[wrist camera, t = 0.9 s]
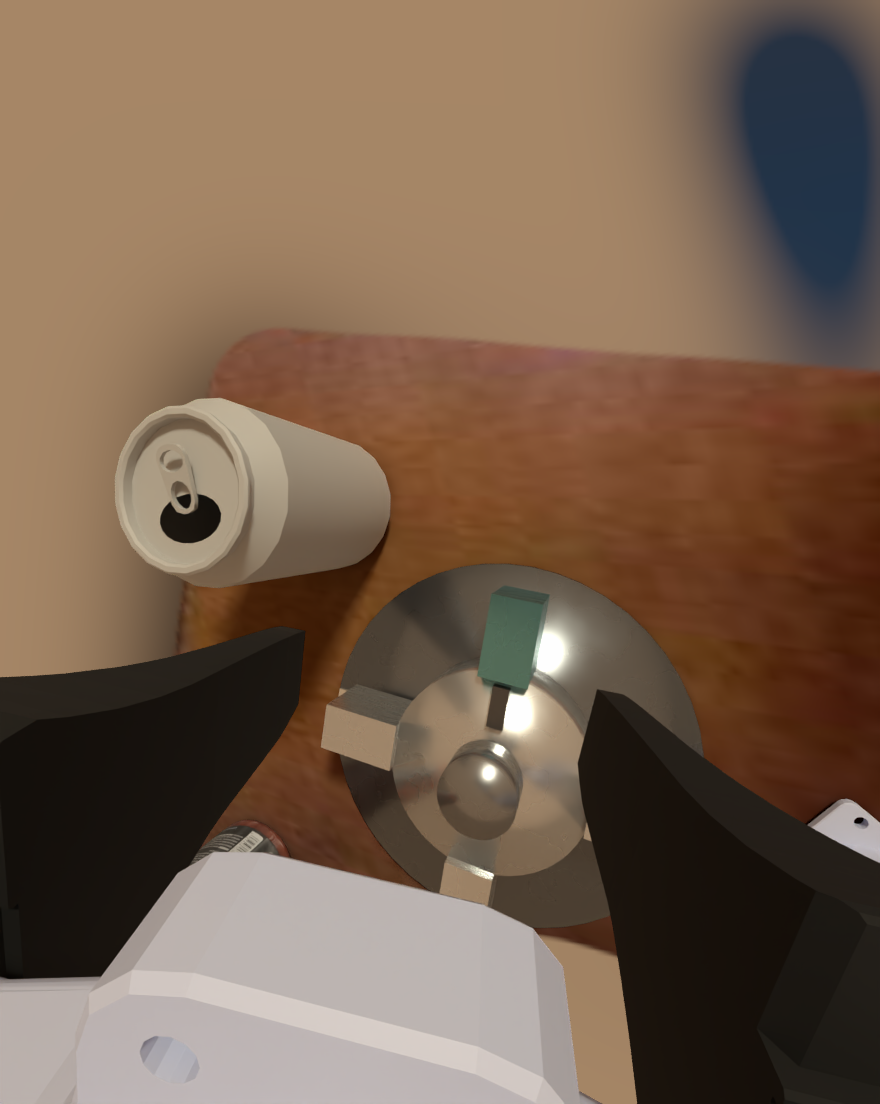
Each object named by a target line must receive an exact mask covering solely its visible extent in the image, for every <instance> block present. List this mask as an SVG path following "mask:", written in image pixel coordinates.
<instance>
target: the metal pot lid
mask: <svg viewBox="0 0 880 1104" xmlns="http://www.w3.org/2000/svg"><path fill="white" fill-rule="evenodd" d="M549 598H550V595H549V594H544V593H540V592H535V591H530V590H525V589H520V588H515V587H511V586H506V585H504V586H503V587H501V588H500V589H498V590H496V591H495V592H493V593H492V594H491V599H490V605H489V611H488V616H487V622H486V628H485V634H484V639H483V645H482V651H481V657H479V658H474V659H470V660H466V661H463V662H461V663H458V664H456V665H454V666H452V667H450V668H448V669H447V670H445V671H444V672H443V673H441V674H440V675H439V676H438V677H437V678H435V679H434V680H433V681H432V682H431V683H430V684H429V685H428V686H427V687H426V688H425V689H424V690H423V691H422V692H421V693H420V694H419V695H418V696H417V697H416V698H415V699H414V700H413V701H412V700H409V699H405V698H402V697H398V696H395V695H392V694H388V693H385V692H382V691H378V690H375V689H371V688H368V687H365V686H361V685H358V684H357V685H356V686H354V687H352V688H351V689H349V690H348V691H346V692H345V693H343V694H342V695H340V696H339V697H337V698H336V699H334V700H333V701H331V702H330V703H328V704H327V707H326V714H325V721H324V728H323V736H322V743H321V748H324V749H327V750H330V751H333V752H336V753H339V754H341V755H344V756H347V757H350V758H353V759H356V760H359V761H362V762H364V763H367V764H370V765H373V766H376V767H379V768H382V769H385V770H388V771H390V770H391V768H392V769H393V775H394V781H395V785H396V789H397V792H398V795H399V797H400V800H401V802H402V805H403V807H404V809H405V811H406V812H407V814H408V816H409V818H410V819H411V821H412V822H413V824H414V825H415V827H416V828H417V829H418V830H419V831H420V833H421V834H422V835H423V836H424V837H425V838H426V839H427V840H428V841H429V842H430V843H431V844H432V845H433V846H434V847H435V848H436V849H438V850H439V851H440V852H442V853H443V854H444V855H445V856H447V859H446V861H445V864H444V870H443V876H442V881H441V887H440V894H444V895H448V896H452V897H457V898H461V899H465V900H469V901H473V902H478V903H482V904H484V905H486V906H488V907H490V908H491V907H492V903H493V898H494V893H495V887H496V882H497V877H498V875H499V876H519V875H526V874H531V873H535V872H538V871H541V870H543V869H546V868H548V867H550V866H552V865H554V864H555V863H557V862H559V861H560V860H561V859H563V858H564V857H565V856H566V855H568V854H569V853H570V852H571V851H572V850H573V848H574V847H575V846H576V845H577V844H578V842H579V841H580V839H581V838H582V836H583V835H584V839H586V840H589V841H591V837H590V833H589V829H588V825H587V821H586V817H585V813H584V809H583V805H582V798H581V791H580V783H579V773H578V759H579V756H580V752H581V748H582V744H583V740H584V737H585V733H586V729H587V725H588V723H587V721H586V719H585V716H584V714H583V713H582V711H581V709H580V708H579V706H578V704H577V703H576V702H575V700H574V699H573V698H572V697H571V695H570V694H569V693H568V692H567V691H566V690H565V689H564V688H563V687H562V686H561V685H560V684H559V683H558V682H557V681H555V680H554V679H553V678H552V677H550V676H549V675H547V674H546V673H544V672H543V671H541V670H539V669H538V668H536V667H537V662H538V657H539V651H540V646H541V640H542V635H543V630H544V624H545V619H546V614H547V608H548V603H549ZM476 740H486V741H491V742H494V743H496V744H498V745H500V746H502V747H504V748H505V749H506V750H507V751H509V752H510V753H511V754H512V755H513V757H514V758H515V759H516V761H517V762H518V764H519V766H520V769H521V772H522V775H523V790H522V794H521V798H520V801H519V805H518V809H517V812H516V816H515V819H514V822H513V824H512V825H511V827H510V828H509V829H508V830H507V831H506V832H505V833H504V834H503V835H501V836H499V837H497V838H495V839H490V840H477V839H472V838H469V837H467V836H464V835H463V834H461V833H459V832H458V831H457V830H455V829H454V828H453V827H452V826H451V825H450V824H449V823H448V822H447V820H446V819H445V818H444V816H443V814H442V812H441V810H440V808H439V804H438V800H437V786H438V782H439V779H440V777H441V775H442V773H443V772H444V770H445V768H446V767H447V765H448V764H449V762H450V760H451V759H452V757H453V755H454V754H455V752H456V751H457V750H458V749H459V748H460V747H461V746H463V745H464V744H466V743H468V742H471V741H476Z"/></svg>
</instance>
